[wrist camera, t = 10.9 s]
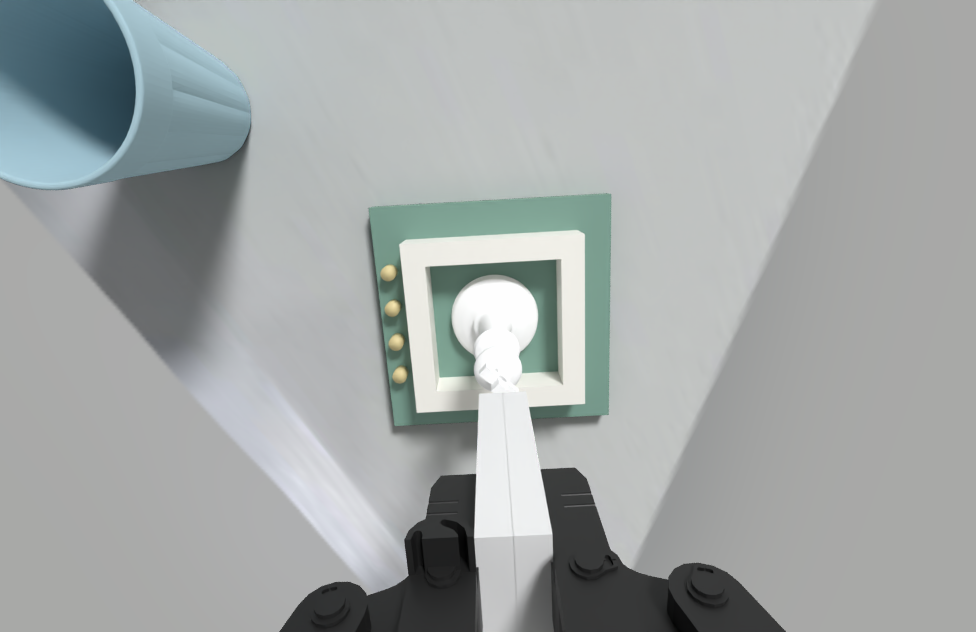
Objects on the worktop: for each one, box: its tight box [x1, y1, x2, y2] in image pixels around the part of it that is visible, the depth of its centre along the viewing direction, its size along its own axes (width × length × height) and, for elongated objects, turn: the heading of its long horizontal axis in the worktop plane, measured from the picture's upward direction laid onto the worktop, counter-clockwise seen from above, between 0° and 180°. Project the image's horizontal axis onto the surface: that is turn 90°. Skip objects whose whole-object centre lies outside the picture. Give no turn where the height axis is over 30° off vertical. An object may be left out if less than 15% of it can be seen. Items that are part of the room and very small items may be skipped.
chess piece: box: [451, 275, 538, 393], centre depth 23 cm, size 5×5×10 cm
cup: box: [0, 0, 251, 190], centre depth 21 cm, size 8×8×10 cm
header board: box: [369, 193, 611, 426], centre depth 28 cm, size 13×13×3 cm
